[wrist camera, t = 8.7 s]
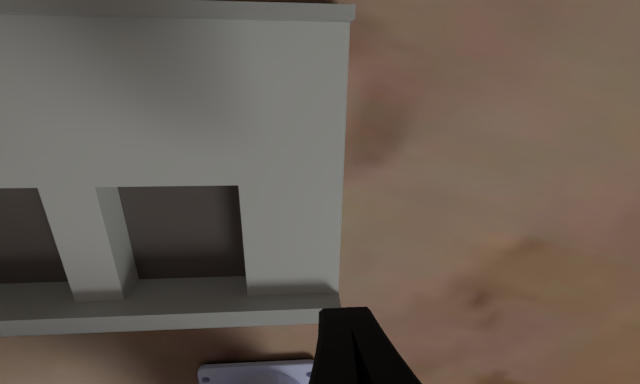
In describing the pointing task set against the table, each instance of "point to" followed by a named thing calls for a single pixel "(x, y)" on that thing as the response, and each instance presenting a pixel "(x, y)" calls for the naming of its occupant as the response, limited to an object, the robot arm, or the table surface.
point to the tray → (170, 163)
